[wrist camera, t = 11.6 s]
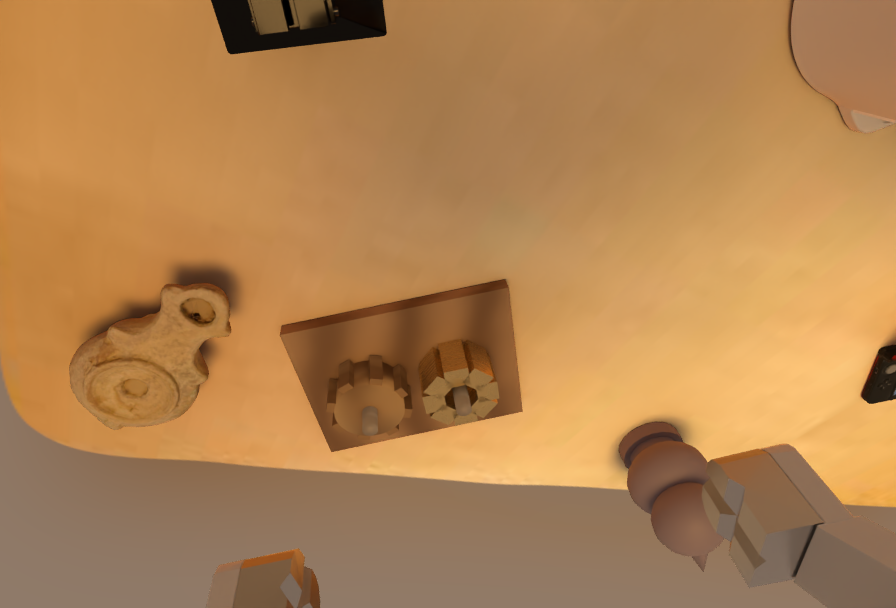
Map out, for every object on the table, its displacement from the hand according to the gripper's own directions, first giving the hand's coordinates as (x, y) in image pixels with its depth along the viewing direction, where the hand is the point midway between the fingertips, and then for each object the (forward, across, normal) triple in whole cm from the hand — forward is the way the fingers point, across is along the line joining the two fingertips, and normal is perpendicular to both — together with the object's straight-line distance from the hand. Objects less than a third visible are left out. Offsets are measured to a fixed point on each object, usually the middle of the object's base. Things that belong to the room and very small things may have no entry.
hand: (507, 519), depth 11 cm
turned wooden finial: (+29, -18, +38) cm, 51 cm away
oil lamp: (+30, +22, +12) cm, 39 cm away
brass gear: (+28, 0, +21) cm, 35 cm away
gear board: (+29, +4, +21) cm, 36 cm away
